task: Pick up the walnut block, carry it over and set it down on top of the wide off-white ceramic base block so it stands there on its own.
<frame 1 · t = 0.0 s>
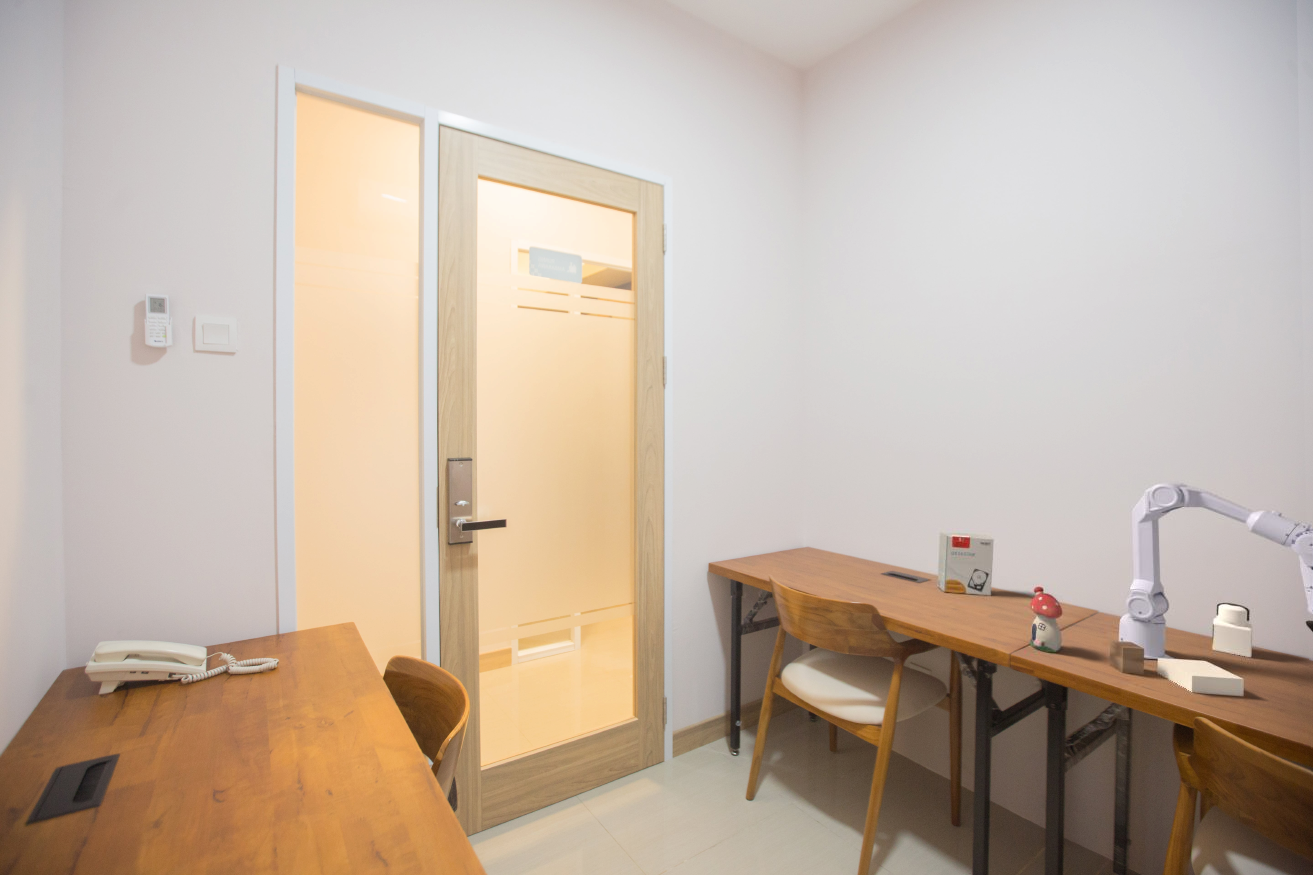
ceramic base: (1198, 685, 129), on the table
hard drive box: (963, 591, 203), on the table
walnut block: (1126, 669, 136), on the table
decorative ornament: (1044, 648, 150), on the table
medicine bottle: (1231, 651, 151), on the table
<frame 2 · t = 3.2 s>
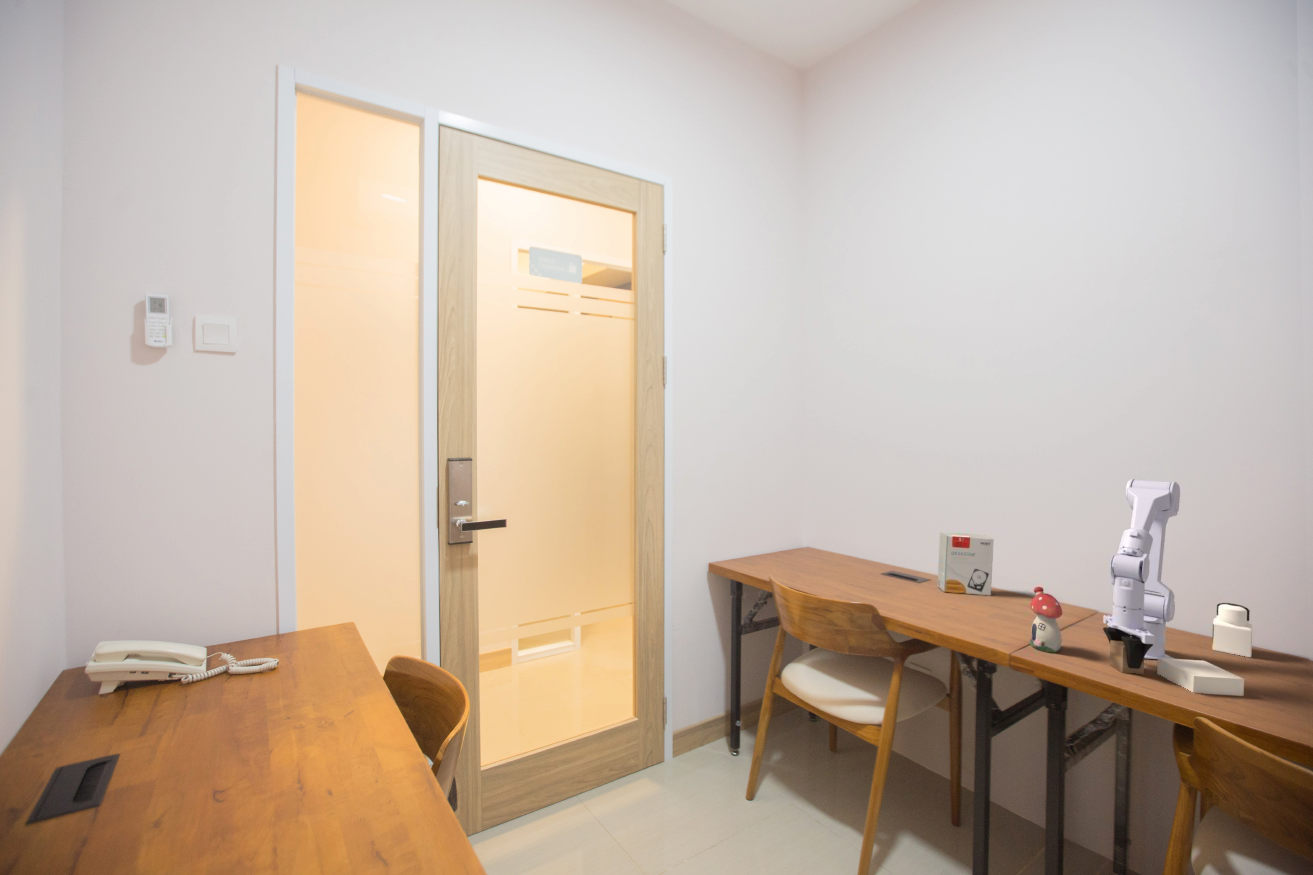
hand: (1126, 663, 136), 1 cm above the table, tool pointing down, fingers closed on walnut block, 4 cm apart
walnut block: (1126, 669, 136), on the table, touching gripper
everything else where it was.
when the fingers open (6 cm above the table, at t = 6.0 s): walnut block stays where it is, resting on ceramic base.
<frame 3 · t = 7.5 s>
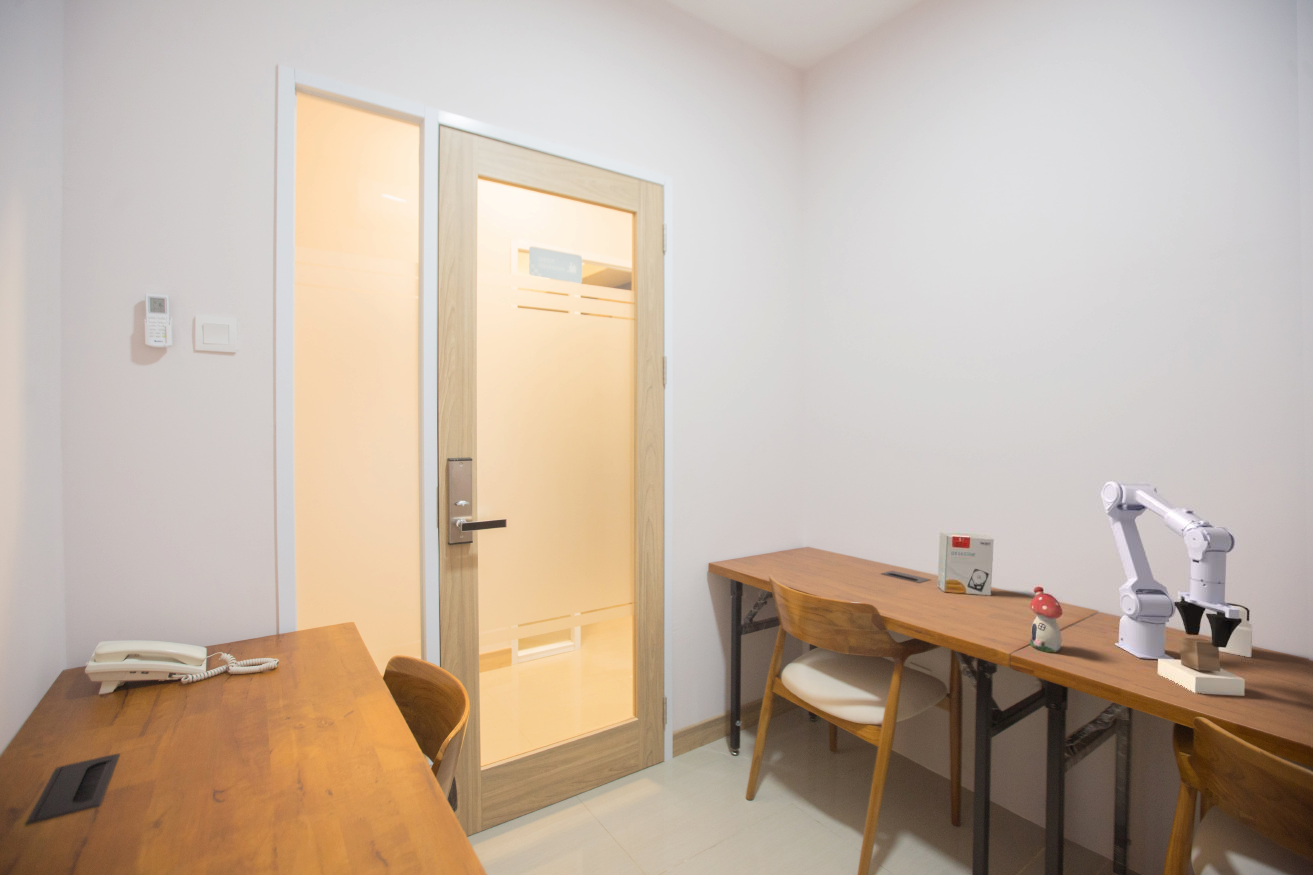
hand: (1205, 640, 130), 9 cm above the table, tool pointing down, fingers open, 7 cm apart
ceramic base: (1199, 686, 129), on the table, touching walnut block
walnut block: (1200, 667, 129), point 4 cm above the table, tilted 7°, touching ceramic base, gripper
everything else where it was.
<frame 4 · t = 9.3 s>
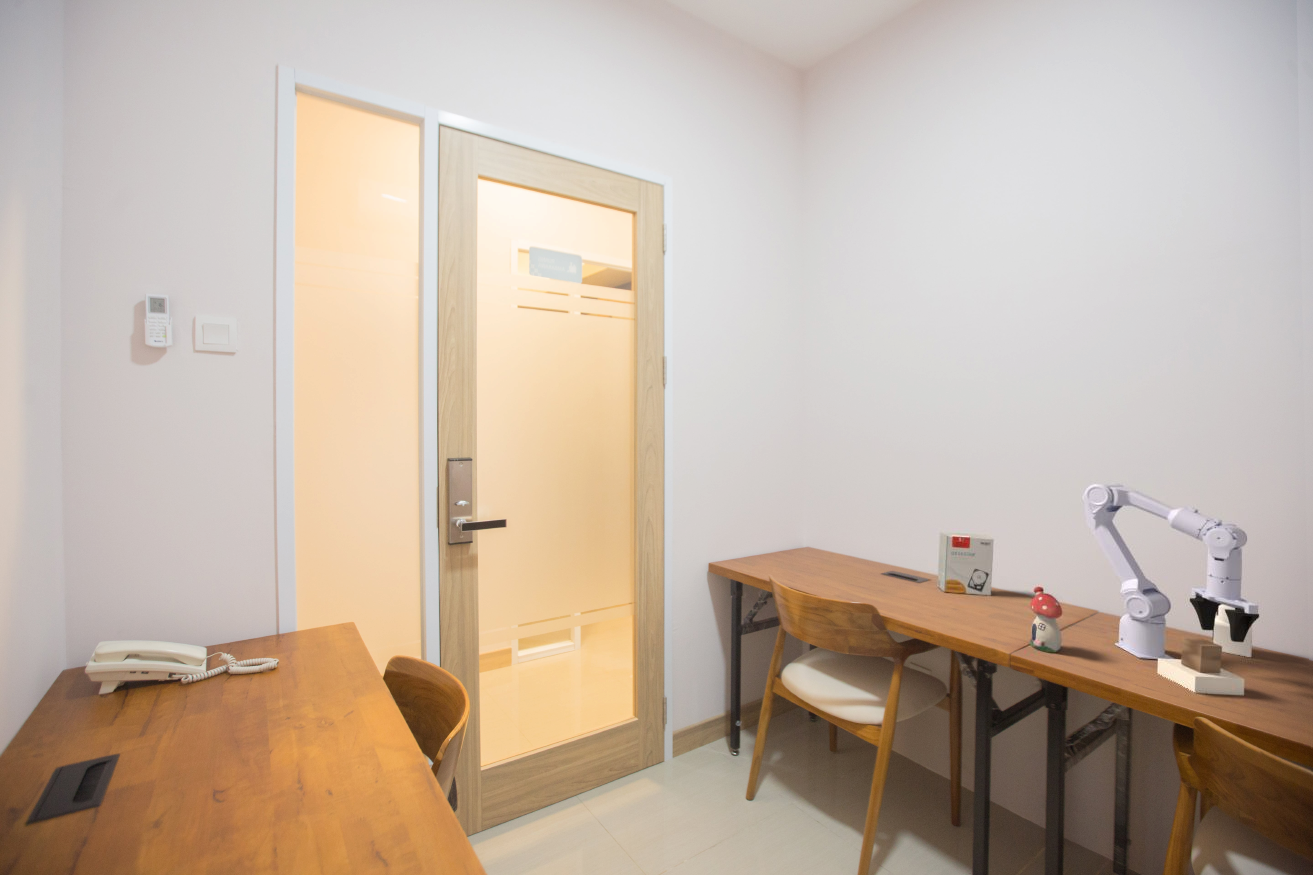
hand: (1221, 635, 134), 9 cm above the table, tool pointing down, fingers open, 7 cm apart
walnut block: (1200, 668, 129), point 4 cm above the table, touching ceramic base
everything else where it was.
at the end: walnut block 0.4 cm off-centre on the ceramic base, point 4.0 cm above the ceramic base's base; walnut block tilted 0°; the gripper is holding nothing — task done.
